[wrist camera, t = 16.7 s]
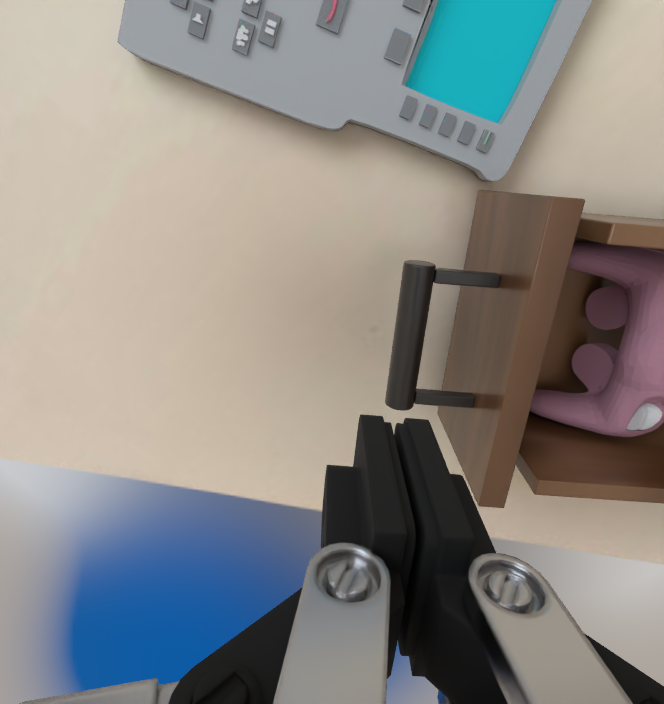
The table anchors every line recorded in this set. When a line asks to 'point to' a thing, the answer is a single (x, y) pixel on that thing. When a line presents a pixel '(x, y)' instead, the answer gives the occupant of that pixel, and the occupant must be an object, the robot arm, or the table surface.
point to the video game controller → (634, 352)
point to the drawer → (524, 352)
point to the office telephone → (373, 63)
